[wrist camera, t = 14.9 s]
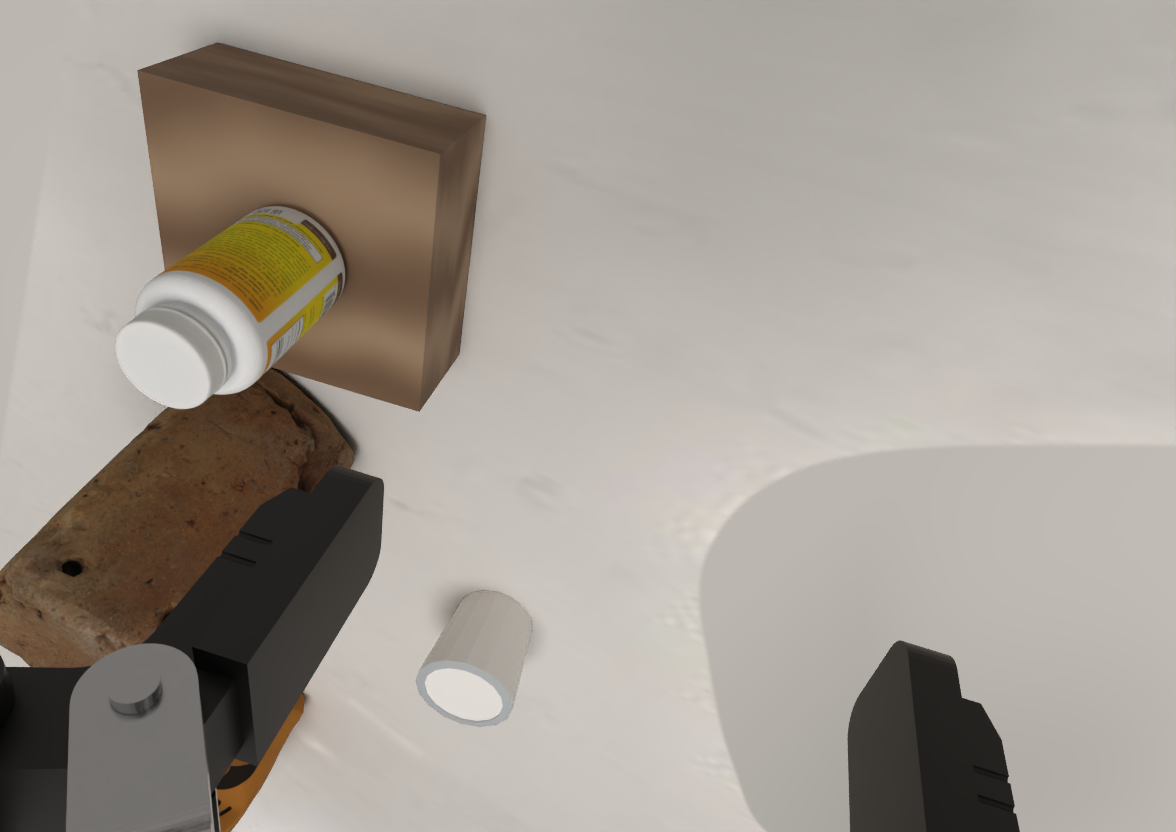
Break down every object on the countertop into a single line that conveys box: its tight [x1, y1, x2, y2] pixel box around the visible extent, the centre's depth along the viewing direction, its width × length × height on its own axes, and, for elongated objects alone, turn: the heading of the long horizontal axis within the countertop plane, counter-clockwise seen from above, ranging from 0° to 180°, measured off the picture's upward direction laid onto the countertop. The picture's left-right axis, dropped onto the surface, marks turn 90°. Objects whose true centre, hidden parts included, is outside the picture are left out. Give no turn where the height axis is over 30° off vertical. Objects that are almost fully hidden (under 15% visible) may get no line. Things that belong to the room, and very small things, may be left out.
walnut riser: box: [137, 43, 486, 411], centre depth 42 cm, size 14×14×6 cm
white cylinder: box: [416, 590, 532, 727], centre depth 58 cm, size 7×7×7 cm
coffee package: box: [216, 694, 304, 832], centre depth 67 cm, size 10×12×22 cm
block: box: [0, 368, 354, 668], centre depth 47 cm, size 11×8×20 cm
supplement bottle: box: [115, 206, 345, 409], centre depth 36 cm, size 6×6×10 cm
